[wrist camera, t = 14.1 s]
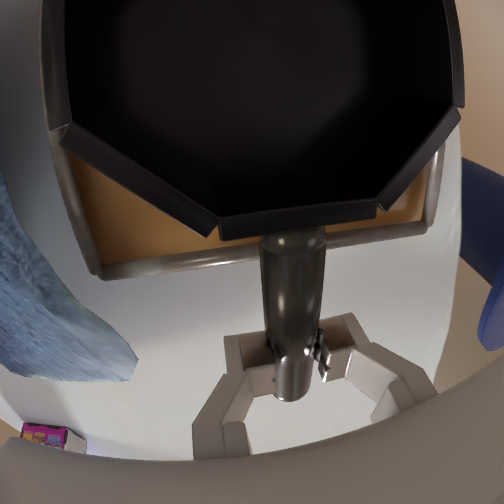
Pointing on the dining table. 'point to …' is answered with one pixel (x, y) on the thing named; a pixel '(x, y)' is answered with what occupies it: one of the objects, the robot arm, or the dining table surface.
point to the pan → (258, 122)
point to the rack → (185, 240)
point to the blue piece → (50, 317)
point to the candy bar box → (54, 437)
